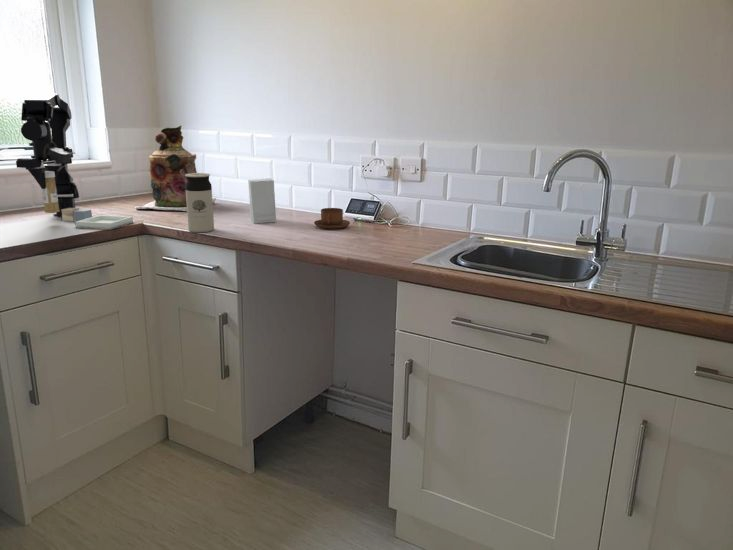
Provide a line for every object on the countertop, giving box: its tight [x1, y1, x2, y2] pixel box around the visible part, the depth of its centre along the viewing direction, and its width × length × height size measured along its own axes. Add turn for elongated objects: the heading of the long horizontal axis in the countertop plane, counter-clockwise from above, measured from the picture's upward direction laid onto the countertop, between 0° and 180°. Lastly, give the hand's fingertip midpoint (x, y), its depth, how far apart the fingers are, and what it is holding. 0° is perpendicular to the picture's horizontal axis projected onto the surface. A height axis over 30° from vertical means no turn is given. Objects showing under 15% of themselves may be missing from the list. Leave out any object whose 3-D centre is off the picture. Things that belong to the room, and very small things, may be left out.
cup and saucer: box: [313, 207, 351, 230], centre depth 190 cm, size 12×12×6 cm
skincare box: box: [247, 177, 277, 225], centre depth 197 cm, size 8×6×15 cm
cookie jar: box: [134, 124, 217, 212], centre depth 225 cm, size 25×25×32 cm
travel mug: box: [185, 172, 215, 233], centre depth 181 cm, size 8×8×18 cm
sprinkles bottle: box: [40, 171, 60, 214], centre depth 187 cm, size 5×5×14 cm
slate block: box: [73, 208, 93, 223], centre depth 195 cm, size 4×4×4 cm
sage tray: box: [74, 214, 134, 230], centre depth 190 cm, size 13×13×2 cm
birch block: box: [61, 207, 80, 222], centre depth 198 cm, size 4×4×4 cm
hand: (48, 187), depth 186 cm, fingers closed on sprinkles bottle, 4 cm apart
